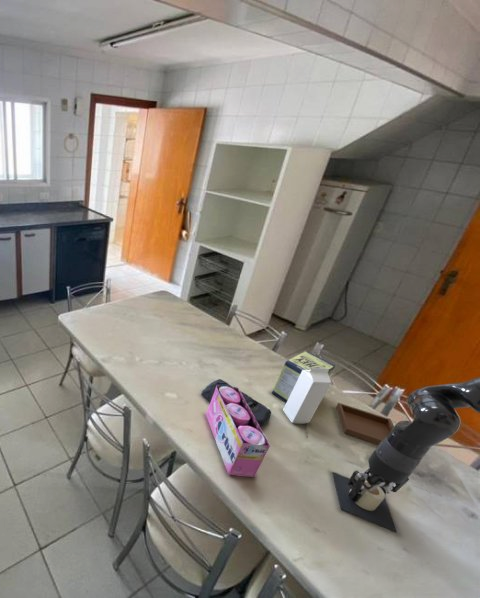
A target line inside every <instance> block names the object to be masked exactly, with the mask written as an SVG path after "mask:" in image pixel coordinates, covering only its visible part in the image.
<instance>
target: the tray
mask: <svg viewBox="0 0 480 598" xmlns="http://www.w3.org/2000/svg"><path fill="white" fill-rule="evenodd" d="M335 408H336V412H337V415H338V419H339V422H340V426H341V428H342V432H343V434H345V435H347V436H351V437H353V438H357V439H359V440H362V441H364V442H368V443H371V444H373V445H377V446H378V445H379V444H380V442H381V441H382V440H383V439H384V438H386V436H387V435H388V434H389V432H390V431H391V430H392V428H393V427H394V426H395V424H394V423H393V421H392V419H391V418H388V417H385V416H382V415H378V414H376V413H372V412H369V411H366V410H363V409H359V408H356V407H355V406H350V405H348V404H344V403H341V402H337V405H336V406H335Z"/></svg>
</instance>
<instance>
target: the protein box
mask: <svg viewBox="0 0 480 598" xmlns="http://www.w3.org/2000/svg"><path fill="white" fill-rule="evenodd" d="M335 367H336V365H335V364H333V363H331V362H329V361H327V360H325V359H323V358H321V357H320V356H317V355H316V354H314V353H312V352H310V351H309V350H304V351H303V352H301V353H299V354H297V355H295V356H293V357H291V358H290V359H288V360H286V361H285V362H284V365H283V367H282V369H281V371H280V373H279V376H278V378H277V380H276V383H275V385H274V387H273V389H272V392H271V394H272V395H274V396H275V397H277V398H279V399H280V400H281V401H283V402H285V404H286V403H287V401H288V399H289V396H290V394H291V392H292V390H293V388H294V386H295V384H296V382H297V380H298V378H299V376H300V374H301V372H302V370H311V369H312V368H324V369H329V371H328V375H329V377H330V376H331V375H332V373H333V371H334V368H335Z"/></svg>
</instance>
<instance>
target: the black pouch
mask: <svg viewBox="0 0 480 598" xmlns="http://www.w3.org/2000/svg"><path fill="white" fill-rule="evenodd" d="M218 385H219V388H220V387H225V386H226V387H230V388H233V387H234V386H232V385H230V384H229V383H228V382H226V381H225V380H223V379H221V378H218V379H216V380H214V381H212V382H210V383H209V384H208V385H206V387H205V388H204V389H202V391H201V393H200V395H201V397H203V399H205V400H206V401H207V402H209V403H210V402H211V400H212V397H213V394H214V392H215V389H216V386H218ZM240 392H241V394H242V395H243V397H244V399H245V401H246V403H247V405H248V407H249V408H250V410H251V412H252V414H253V415H254V417H255V419H256V421H257V423H258V424H259V426H260V427H263V426H264V425H266V423H267V422H268V421H269V420H270V417H271V415H272V411H271V409H270V408H268V407H267V406H266V405H264V404H262V403H261V402H259V401H257V400H255V399H254V398H252V397H251V396H249V395H248V394H246V393H245V392H243V391H242V390H240Z"/></svg>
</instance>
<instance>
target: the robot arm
mask: <svg viewBox="0 0 480 598" xmlns="http://www.w3.org/2000/svg"><path fill="white" fill-rule="evenodd" d="M406 405H407V407H408V409H409V411H410V412H411V414H412V416H413V420H412V421H410V420H401V421H400V420H399V421H398V422H397V423H395V424H394V427H393V428H392V430H391V431H390V432H389V434H388V435H387V436H386V438H384V439H383V440H382V441H381V442H380V444H379V445H377V446H376V448H375V449H374V450H373V452H372V453H371V455H370V456H369V457H368V459H367V461H368V467H369V468H368V469H366V470H365V471H363V473H362V472H361V473H360V472H359V470H354V471H353V472H352V474H351V476H350V478H349V479H350V480H349V481H348V483H347V485H348V486H349V487H350V488H351V489H352V490H351V491H350V492H349V494H348V496H349V497H350V498H351V500H352V501H353V502H357V501H358V500H359V499H360V498H361V496H362V495H363V494H364V493H365V492H367V491H373V490H374V489H376V488H377V487H380V488H381V489H382V490H383V492H384V494H385V495H388V494H389V495H390V493H391V492H392V493H397V492H398V491H399V490H400V489H401V488H402V487H404V485H405V484H406V483H407V482H408V481H409V480H410V478H409V477H410V476H411V475H412V474H413V472H414V471H415V470H416V469H417V468H418V466H419V465H420V463H421V462H422V459H423V458H424V457H425V456H426V454H427V453H428V452H429V451H430V450H431V448H432V447H433V446H435V445H438V444H439V443H442V442H444V441H445V440H447V439H449V438H451V437H452V436H454V435H455V434H456V433H457V432H458V430H460V426H461V422H462V421H461V417H460V415H459V414H458V412H457V410H456V409H464V408H465V409H467V408H469V409H471V410H473V411H474V412H476V413H478V414H480V376H479V377H476V378H472V379H469V380H467V381H463V382H454V383H453V382H452V383H444V384H435V385H428V386H423V387H419V388H416V389H415V390H413V391H412V392H410V393H409V394H408V395H407V397H406ZM365 479H366V480H365ZM365 481H367V482H368V483H369V484H370V485H371V486H370V487H369V486H368V485H367V483H366V482H365ZM362 486H364V488H363V489H361V487H362Z"/></svg>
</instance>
